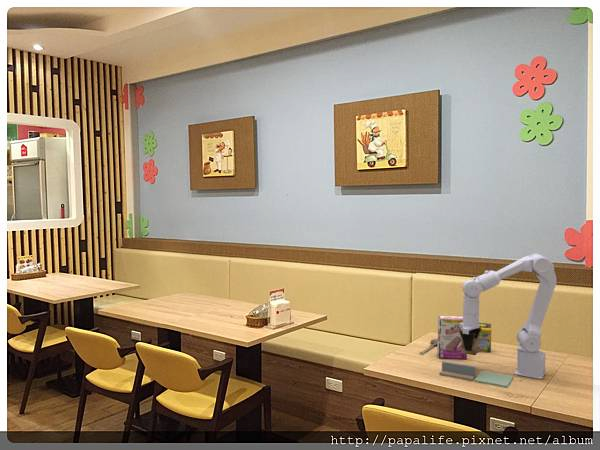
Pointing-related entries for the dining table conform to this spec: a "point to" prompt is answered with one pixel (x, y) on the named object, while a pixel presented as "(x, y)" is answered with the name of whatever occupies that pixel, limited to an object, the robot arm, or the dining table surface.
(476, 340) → the lettered cube
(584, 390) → the dining table surface
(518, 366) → the robot arm
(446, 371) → the grey long block
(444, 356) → the candy bar box
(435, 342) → the soupspoon
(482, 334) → the crayon box
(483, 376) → the mat
